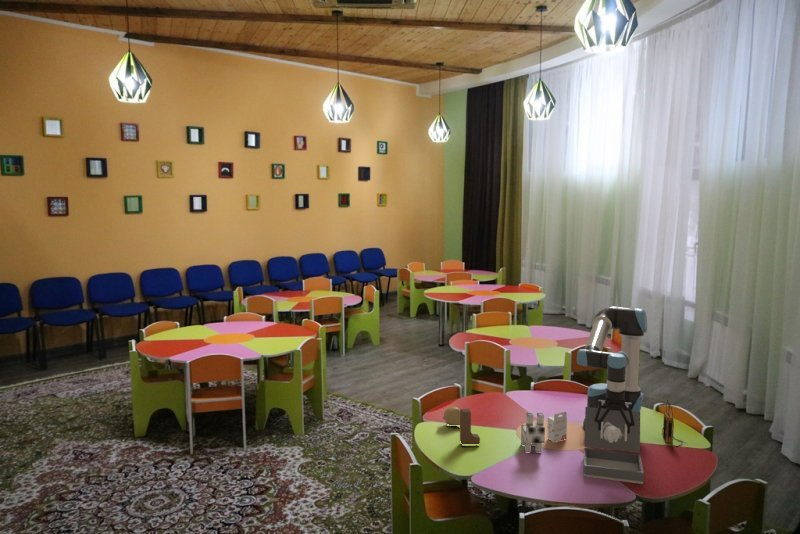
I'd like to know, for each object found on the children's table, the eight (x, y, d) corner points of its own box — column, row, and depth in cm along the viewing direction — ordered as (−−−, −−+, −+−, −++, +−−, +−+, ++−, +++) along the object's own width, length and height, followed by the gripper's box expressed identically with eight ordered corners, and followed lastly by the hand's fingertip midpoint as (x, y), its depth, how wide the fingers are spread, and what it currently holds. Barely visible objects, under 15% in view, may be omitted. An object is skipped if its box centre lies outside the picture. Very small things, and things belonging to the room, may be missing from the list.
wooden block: (477, 442, 289) (477, 407, 287) (479, 446, 285) (480, 411, 283) (459, 443, 288) (460, 408, 286) (461, 447, 284) (462, 412, 282)
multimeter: (690, 447, 281) (692, 408, 278) (667, 446, 283) (670, 406, 280) (681, 435, 295) (684, 397, 293) (660, 433, 297) (662, 396, 295)
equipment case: (583, 476, 255) (584, 465, 254) (583, 458, 272) (584, 447, 271) (643, 484, 248) (643, 472, 247) (639, 464, 265) (639, 454, 264)
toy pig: (453, 436, 306) (468, 424, 303) (438, 419, 306) (453, 407, 303) (455, 428, 315) (470, 416, 312) (440, 411, 315) (455, 399, 312)
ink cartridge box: (559, 436, 296) (560, 408, 294) (566, 439, 292) (567, 411, 290) (546, 439, 292) (547, 411, 290) (553, 443, 288) (554, 414, 286)
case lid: (585, 406, 275) (585, 406, 277) (584, 446, 272) (584, 446, 274) (640, 412, 268) (639, 412, 270) (639, 452, 264) (639, 452, 266)
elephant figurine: (627, 442, 255) (628, 426, 254) (608, 445, 252) (609, 429, 251) (616, 435, 262) (617, 420, 261) (598, 438, 260) (598, 422, 259)
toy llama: (535, 441, 290) (535, 403, 287) (544, 458, 272) (545, 417, 270) (519, 442, 290) (520, 403, 287) (528, 458, 272) (528, 417, 269)
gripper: (589, 389, 254) (587, 439, 257) (643, 394, 248) (641, 445, 251) (589, 384, 262) (587, 432, 264) (641, 389, 255) (639, 438, 258)
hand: (613, 438), depth 258 cm, fingers closed on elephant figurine, 9 cm apart
